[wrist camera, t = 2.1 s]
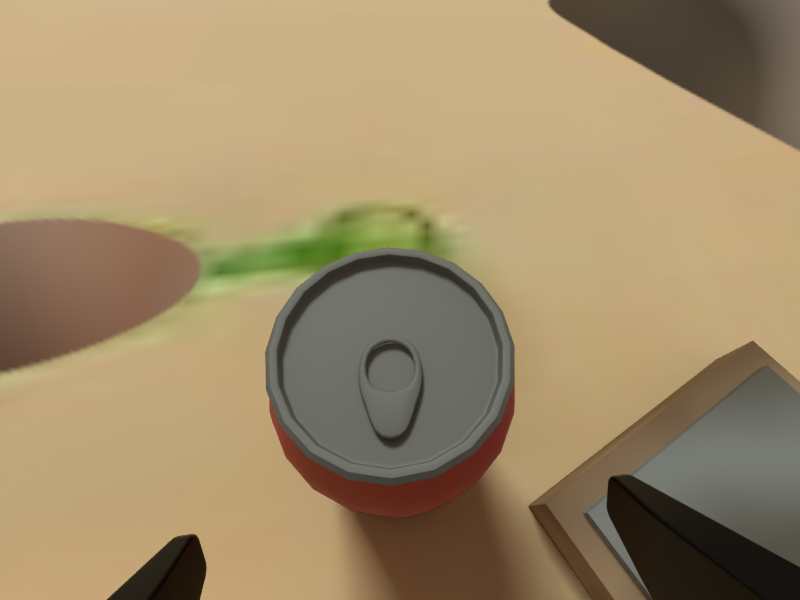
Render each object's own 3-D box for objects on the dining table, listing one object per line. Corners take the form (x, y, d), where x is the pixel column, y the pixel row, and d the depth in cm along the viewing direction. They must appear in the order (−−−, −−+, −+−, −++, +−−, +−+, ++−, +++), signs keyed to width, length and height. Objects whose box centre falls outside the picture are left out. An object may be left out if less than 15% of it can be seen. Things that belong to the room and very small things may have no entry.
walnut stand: (997, 622, 16) (1116, 643, 13) (802, 898, 13) (907, 999, 10) (716, 359, 21) (760, 336, 19) (528, 505, 18) (549, 503, 15)
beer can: (324, 520, 18) (210, 520, 7) (333, 376, 21) (261, 232, 10) (472, 516, 18) (572, 510, 7) (459, 373, 21) (514, 226, 10)
